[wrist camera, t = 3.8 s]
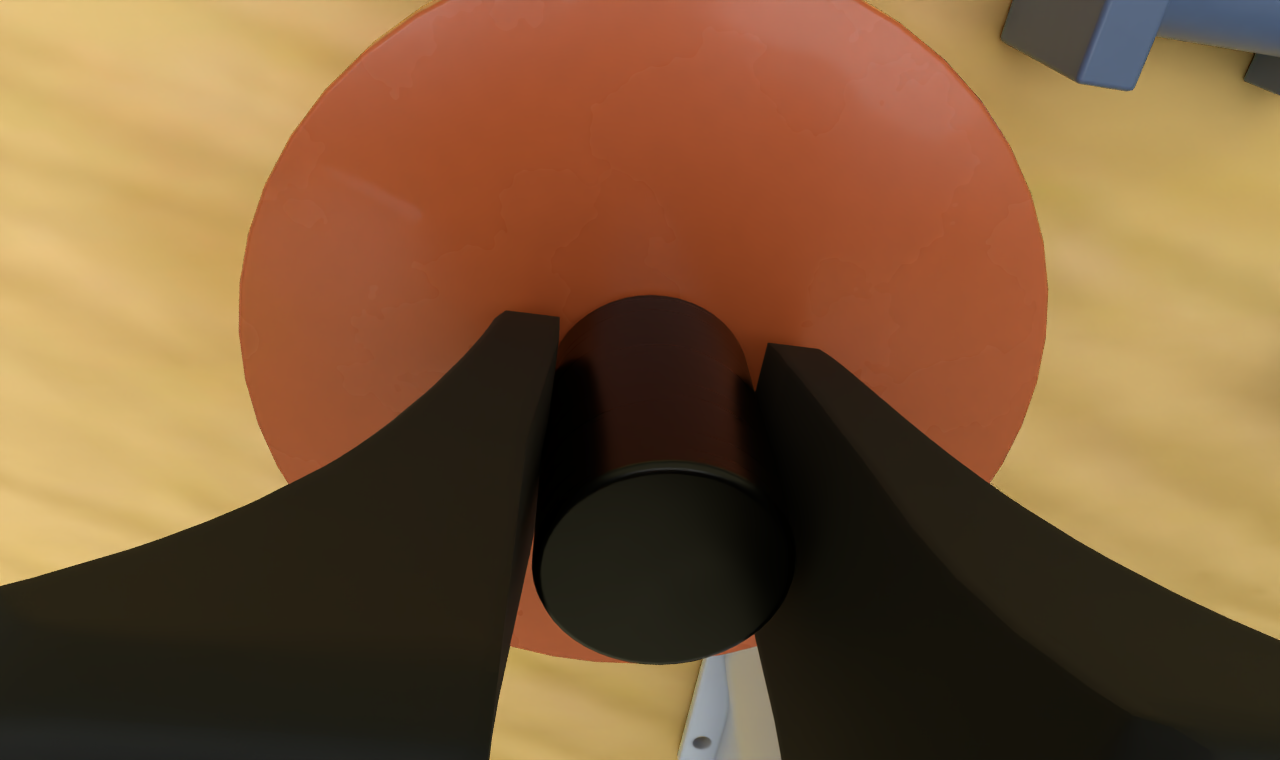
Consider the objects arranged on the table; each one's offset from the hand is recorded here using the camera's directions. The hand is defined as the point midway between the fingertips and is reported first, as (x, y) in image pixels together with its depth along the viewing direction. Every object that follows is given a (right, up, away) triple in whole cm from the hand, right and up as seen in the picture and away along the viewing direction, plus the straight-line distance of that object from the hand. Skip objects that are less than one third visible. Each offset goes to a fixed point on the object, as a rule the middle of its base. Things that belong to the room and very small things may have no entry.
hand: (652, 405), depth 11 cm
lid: (0, 0, +1) cm, 1 cm away
